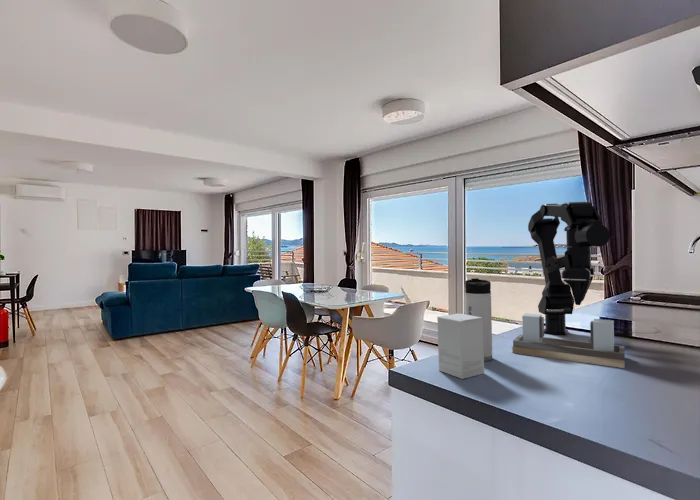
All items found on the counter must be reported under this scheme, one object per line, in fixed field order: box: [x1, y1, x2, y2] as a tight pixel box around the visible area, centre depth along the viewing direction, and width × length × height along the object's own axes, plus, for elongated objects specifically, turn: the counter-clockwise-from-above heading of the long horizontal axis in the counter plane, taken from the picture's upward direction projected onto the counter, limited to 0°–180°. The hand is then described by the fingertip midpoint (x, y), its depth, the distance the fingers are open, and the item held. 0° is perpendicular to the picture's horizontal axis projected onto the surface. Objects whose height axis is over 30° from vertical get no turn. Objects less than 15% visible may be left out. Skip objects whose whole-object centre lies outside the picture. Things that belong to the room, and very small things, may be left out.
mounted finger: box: [521, 313, 545, 343], centre depth 101 cm, size 4×5×8 cm
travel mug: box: [464, 277, 493, 362], centre depth 96 cm, size 6×7×20 cm
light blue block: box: [589, 318, 615, 352], centre depth 92 cm, size 5×4×8 cm
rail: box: [511, 334, 626, 369], centre depth 97 cm, size 10×24×3 cm, turn 54°
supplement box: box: [437, 313, 485, 380], centre depth 85 cm, size 7×7×13 cm
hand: (579, 302), depth 105 cm, fingers open, 9 cm apart
